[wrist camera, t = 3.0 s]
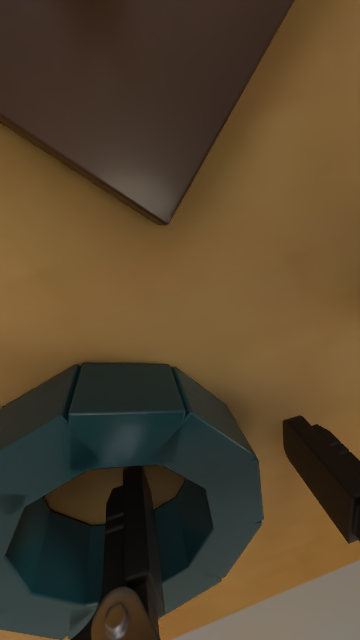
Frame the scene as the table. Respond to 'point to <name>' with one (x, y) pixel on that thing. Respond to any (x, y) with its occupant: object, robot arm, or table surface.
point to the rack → (130, 85)
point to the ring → (113, 452)
